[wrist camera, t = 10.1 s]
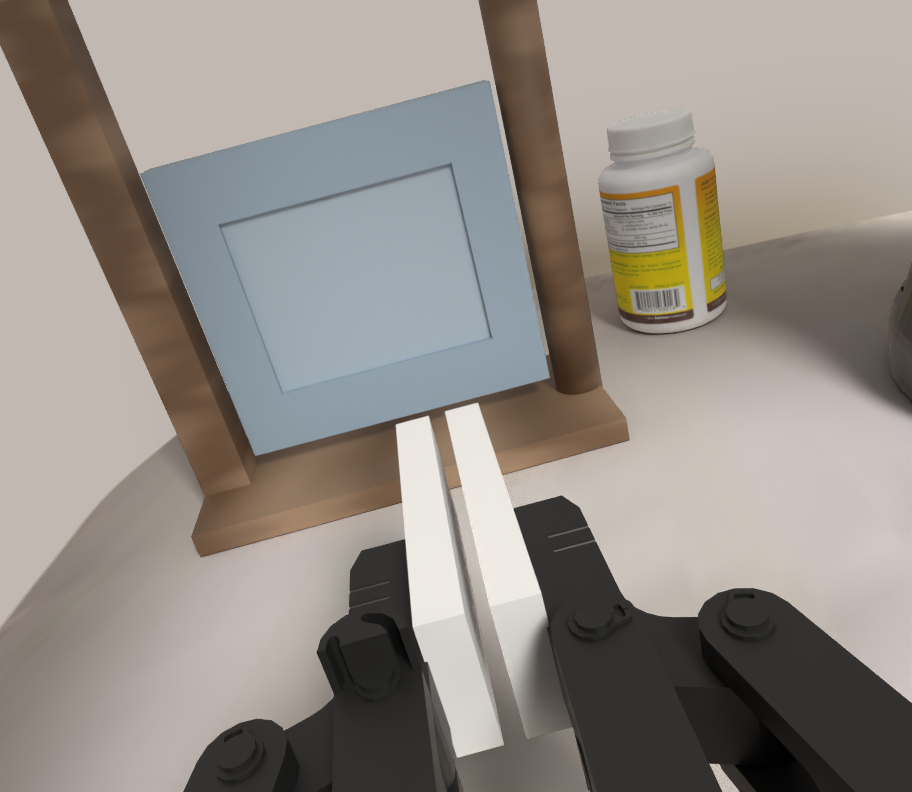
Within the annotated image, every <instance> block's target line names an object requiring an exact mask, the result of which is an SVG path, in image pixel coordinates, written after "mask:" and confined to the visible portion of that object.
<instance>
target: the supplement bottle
mask: <svg viewBox="0 0 912 792" xmlns="http://www.w3.org/2000/svg"><path fill="white" fill-rule="evenodd" d="M694 134H695V131H694V128H693V122H692V113H691V110H689V109H683V108H680V109H679V108H678V109H668V110H662V111H656V112H651V113H646V114H641V115H638V116H634V117H630V118H627V119H624V120H621V121H618V122H616V123H613V124H612V125H610V126H609V127H608V128H607V135H608V142H609V152H610V153H611V154H610V158H611V160H612V161H615V163H613V164H611V165H609V166H608V167H606V168H605V169H604V170H603V171H602V173H601V174H600V176H599V180H598V181H599V182H598V184H599V191H600V198H601V204H602V210H603V216H604V222H605V229H606V234H607V240H608V247H609V253H610V260H611V266H612V272H613V278H614V285H615V291H616V297H617V303H618V309H619V314H620V317H621V319H622V321H623V322H624V323H625V324H626V325H627V326H628V327H630V328H632V329H634V330H637V331H641V332H646V333H673V332H679V331H685V330H689V329H692V328H696V327H699V326H701V325H704V324H706V323H708V322H710V321H712V320H713V319H715V318H716V317H717V316H719V315H720V314H721V313H722V311H723V310H724V308H725V306H726V303H727V290H726V280H725V270H724V259H723V249H722V238H721V227H720V218H719V207H718V197H717V185H716V174H715V164H714V158H713V156H712V154H711V153H710V152H709V151H708V150H706V149H704V148H701V147H695V146H692V145H693V144H694V142H695V138H694Z"/></svg>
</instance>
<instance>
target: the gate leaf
mask: <svg viewBox="0 0 912 792" xmlns="http://www.w3.org/2000/svg"><path fill="white" fill-rule="evenodd" d="M140 175H141V178H142V180H143V183H144V185H145V188H146V190H147V192H148V195H149V197H150V200H151V202H152V205H153V207H154V210H155V212H156V215H157V217H158V219H159V222H160V224H161V227H162V229H163V232H164V234H165V237H166V239H167V241H168V244H169V246H170V249H171V251H172V254H173V256H174V259H175V261H176V263H177V266H178V268H179V271H180V273H181V276H182V278H183V281H184V283H185V285H186V288H187V290H188V293H189V295H190V297H191V300H192V302H193V305H194V307H195V310H196V312H197V315H198V317H199V319H200V322H201V325H202V327H203V329H204V331H205V334H206V337H207V339H208V342H209V344H210V347H211V349H212V351H213V354H214V356H215V359H216V361H217V364H218V366H219V369H220V371H221V373H222V376H223V378H224V381H225V383H226V386H227V388H228V390H229V393H230V395H231V398H232V400H233V403H234V405H235V408H236V410H237V412H238V415H239V417H240V420H241V422H242V425H243V427H244V430H245V432H246V434H247V437H248V439H249V442H250V444H251V447H252V449H253V452H254V454H255V456H257V455H261V454H265V453H269V452H272V451H276V450H280V449H284V448H287V447H291V446H295V445H299V444H303V443H306V442H310V441H314V440H318V439H321V438H325V437H329V436H333V435H337V434H340V433H344V432H348V431H352V430H355V429H359V428H363V427H367V426H371V425H374V424H378V423H382V422H386V421H389V420H393V419H397V418H401V417H405V416H408V415H412V414H416V413H420V412H423V411H427V410H431V409H435V408H439V407H442V406H446V405H450V404H454V403H457V402H461V401H465V400H469V399H473V398H476V397H480V396H484V395H488V394H491V393H495V392H499V391H503V390H507V389H510V388H514V387H518V386H522V385H525V384H529V383H533V382H537V381H541V380H544V379H548V378H550V376H549V371H548V366H547V361H546V356H545V351H544V346H543V341H542V336H541V332H540V327H539V322H538V317H537V312H536V307H535V302H534V297H533V292H532V287H531V283H530V277H529V273H528V268H527V263H526V258H525V253H524V248H523V243H522V238H521V233H520V228H519V223H518V218H517V214H516V208H515V203H514V199H513V194H512V189H511V184H510V179H509V174H508V169H507V164H506V159H505V154H504V149H503V144H502V139H501V135H500V130H499V125H498V120H497V115H496V110H495V105H494V100H493V95H492V90H491V85H490V81H484V80H483V81H480V82H476V83H472V84H468V85H465V86H461V87H457V88H453V89H449V90H446V91H442V92H438V93H434V94H431V95H427V96H423V97H419V98H415V99H412V100H408V101H404V102H401V103H397V104H393V105H389V106H385V107H382V108H378V109H374V110H371V111H367V112H363V113H359V114H356V115H351V116H348V117H344V118H340V119H336V120H332V121H329V122H325V123H322V124H317V125H314V126H310V127H306V128H303V129H299V130H295V131H291V132H288V133H283V134H280V135H276V136H273V137H268V138H265V139H261V140H257V141H254V142H250V143H246V144H242V145H238V146H234V147H231V148H227V149H224V150H219V151H216V152H212V153H208V154H204V155H201V156H197V157H193V158H190V159H185V160H182V161H178V162H174V163H170V164H167V165H163V166H159V167H155V168H152V169H149V170H147V171H145V172H143V173H141V174H140Z"/></svg>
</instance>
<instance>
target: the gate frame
mask: <svg viewBox="0 0 912 792" xmlns="http://www.w3.org/2000/svg"><path fill="white" fill-rule="evenodd" d="M479 5H480V10H481V15H482V20H483V25H484V30H485V34H486V40H487V45H488V49H489V55H490V59H491V65H492V70H493V74H494V79H495V85H496V90H497V95H498V100H499V104H500V109H501V115H502V120H503V125H504V129H505V135H506V139H507V144H508V149H509V154H510V160H511V164H512V170H513V175H514V179H515V185H516V190H517V195H518V199H519V204H520V209H521V215H522V220H523V225H524V230H525V234H526V240H527V244H528V249H529V255H530V260H531V264H532V269H533V274H534V279H535V284H536V289H537V294H538V299H539V304H540V309H541V314H542V319H543V324H544V329H545V334H546V339H547V344H548V349H549V354H550V355H546V361H547V366H548V371H549V376H550V378H548V379H544V380H541V381H537V382H533V383H529V384H525V385H522V386H518V387H514V388H510V389H507V390H503V391H499V392H495V393H491V394H488V395H484V396H480V397H476V398H473V399H469V400H465V401H461V402H457V403H454V404H450V405H446V406H442V407H439V408H435V409H431V410H427V411H423V412H420V413H416V414H412V415H408V416H405V417H401V418H397V419H393V420H389V421H386V422H382V423H378V424H374V425H371V426H367V427H363V428H359V429H355V430H352V431H348V432H344V433H340V434H337V435H333V436H329V437H325V438H321V439H318V440H314V441H310V442H306V443H303V444H299V445H295V446H291V447H287V448H284V449H280V450H276V451H272V452H269V453H265V454H261V455H257V456H255V454H254V452H253V449H252V447H251V444H250V442H249V439H248V437H246V434H245V432H244V429H243V427H242V425H241V422H240V420H239V417H238V415H237V412H236V410H235V407H234V405H233V403H232V400H231V398H230V395H229V393H228V391H227V388H226V386H225V383H224V381H223V378H222V376H221V373H220V371H219V369H218V366H217V364H216V361H215V359H214V356H213V354H212V352H211V349H210V346H209V344H208V342H207V339H206V337H205V334H204V332H203V329H202V327H201V325H200V322H199V320H198V317H197V315H196V312H195V310H194V307H193V305H192V303H191V300H190V298H189V295H188V293H187V290H186V288H185V285H184V283H183V281H182V278H181V276H180V273H179V271H178V268H177V266H176V264H175V261H174V259H173V256H172V254H171V251H170V249H169V246H168V244H167V242H166V239H165V237H164V234H163V232H162V229H161V227H160V225H159V222H158V220H157V217H156V215H155V212H154V210H153V207H152V205H151V203H150V200H149V198H148V196H147V193H146V190H145V188H144V186H143V183H142V181H141V178H140V176H139V173H138V171H137V168H136V166H135V164H134V161H133V159H132V156H131V154H130V151H129V149H128V146H127V144H126V142H125V139H124V137H123V134H122V132H121V130H120V127H119V125H118V122H117V120H116V117H115V115H114V112H113V110H112V107H111V105H110V103H109V100H108V98H107V95H106V93H105V91H104V88H103V85H102V83H101V81H100V78H99V76H98V73H97V71H96V68H95V66H94V64H93V61H92V59H91V56H90V54H89V51H88V49H87V47H86V44H85V42H84V39H83V37H82V34H81V32H80V30H79V27H78V25H77V22H76V20H75V17H74V15H73V12H72V10H71V7H70V5H69V3H68V0H0V46H1V48H2V50H3V52H4V54H5V57H6V59H7V61H8V63H9V65H10V68H11V70H12V72H13V74H14V76H15V79H16V81H17V83H18V85H19V87H20V89H21V92H22V94H23V96H24V98H25V100H26V103H27V105H28V107H29V109H30V112H31V114H32V116H33V118H34V120H35V123H36V125H37V127H38V129H39V131H40V134H41V136H42V138H43V140H44V142H45V145H46V147H47V149H48V151H49V153H50V156H51V158H52V160H53V162H54V164H55V167H56V169H57V171H58V173H59V175H60V178H61V180H62V182H63V184H64V186H65V189H66V191H67V193H68V195H69V197H70V200H71V202H72V204H73V206H74V208H75V211H76V213H77V215H78V217H79V219H80V222H81V224H82V226H83V228H84V230H85V233H86V235H87V237H88V239H89V241H90V244H91V246H92V248H93V250H94V252H95V254H96V257H97V259H98V261H99V263H100V266H101V268H102V270H103V272H104V274H105V277H106V279H107V281H108V283H109V285H110V288H111V290H112V292H113V294H114V296H115V298H116V301H117V303H118V305H119V307H120V310H121V312H122V314H123V316H124V318H125V321H126V322H127V325H128V327H129V329H130V332H131V334H132V336H133V338H134V340H135V343H136V345H137V347H138V349H139V351H140V353H141V355H142V358H143V360H144V362H145V364H146V367H147V369H148V371H149V373H150V376H151V378H152V380H153V382H154V384H155V386H156V389H157V391H158V393H159V395H160V398H161V400H162V402H163V404H164V406H165V409H166V410H167V413H168V415H169V417H170V419H171V421H172V424H173V426H174V428H175V430H176V433H177V435H178V437H179V439H180V442H181V444H182V446H183V448H184V450H185V453H186V455H187V457H188V459H189V461H190V464H191V466H192V468H193V470H194V472H195V475H196V477H197V479H198V481H199V483H200V486H201V488H202V490H203V492H204V494H205V499H204V502H203V505H202V508H201V510H200V513H199V516H198V519H197V522H196V525H195V527H194V530H193V533H192V536H191V537H192V539H193V542H194V544H195V546H196V548H197V550H198V552H199V554H200V556H201V557H202V556H206V555H210V554H213V553H217V552H221V551H224V550H228V549H232V548H235V547H239V546H243V545H246V544H250V543H254V542H257V541H261V540H265V539H268V538H272V537H276V536H279V535H283V534H287V533H290V532H294V531H298V530H301V529H305V528H309V527H312V526H316V525H320V524H323V523H327V522H331V521H334V520H338V519H342V518H345V517H349V516H352V515H356V514H360V513H363V512H367V511H371V510H374V509H378V508H382V507H385V506H389V505H393V504H396V503H400V502H402V494H401V482H400V470H399V458H398V446H397V434H396V424H399V423H403V422H407V421H411V420H414V419H418V418H422V417H426V416H429V418H430V422H431V425H432V429H433V432H434V436H435V439H436V443H437V446H438V450H439V453H440V457H441V460H442V464H443V467H444V471H445V474H446V478H447V481H448V485H449V488H450V489H451V488H455V487H459V486H462V484H461V480H460V476H459V471H458V467H457V462H456V458H455V454H454V449H453V445H452V441H451V436H450V432H449V428H448V423H447V419H446V415H445V411H448V410H452V409H456V408H460V407H463V406H467V405H471V404H475V403H478V405H479V408H480V411H481V414H482V417H483V420H484V423H485V426H486V429H487V432H488V435H489V438H490V441H491V444H492V447H493V450H494V453H495V456H496V459H497V462H498V465H499V468H500V471H501V474H502V475H503V474H506V473H510V472H513V471H517V470H521V469H524V468H528V467H532V466H535V465H539V464H543V463H546V462H550V461H554V460H557V459H561V458H565V457H568V456H572V455H576V454H579V453H583V452H587V451H590V450H594V449H598V448H601V447H605V446H609V445H612V444H616V443H620V442H623V441H627V440H629V434H628V428H627V421H626V417H625V416H624V415H623V414H622V412H621V411H620V410H619V408H618V407H617V406H616V404H615V403H614V402H613V401H612V399H611V398H610V397H609V395H608V394H607V393H606V391H605V390H604V389H603V386H602V380H601V374H600V368H599V363H598V357H597V351H596V345H595V339H594V333H593V327H592V322H591V316H590V310H589V304H588V298H587V292H586V286H585V280H584V275H583V269H582V263H581V257H580V251H579V245H578V239H577V234H576V228H575V222H574V216H573V210H572V204H571V198H570V193H569V187H568V181H567V175H566V169H565V163H564V158H563V152H562V146H561V140H560V135H559V128H558V122H557V116H556V111H555V105H554V99H553V93H552V87H551V81H550V76H549V69H548V63H547V58H546V52H545V46H544V40H543V34H542V28H541V23H540V17H539V11H538V5H537V0H479Z"/></svg>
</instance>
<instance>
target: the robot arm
mask: <svg viewBox="0 0 912 792" xmlns="http://www.w3.org/2000/svg"><path fill="white" fill-rule="evenodd" d="M889 367H890V371H891V374H892V376H893V378H894V380H895V382H896V383H897V385H898V386H899V387H900V389H901V390H902V391H903V392H904V393H905V394H906V395H907V396H908V397H909V398H910V399H911V400H912V263H911V266H910V270H909V273H908V276H907V279H906V280H905V281H904V282H903V284H902V286H901V288H900V290H899V291H898V293H897V295H896V297H895V299H894V301H893V304H892V308H891V313H890V327H889ZM445 415H446V419H447V423H448V428H449V432H450V436H451V441H452V445H453V449H454V454H455V458H456V462H457V467H458V471H459V476H460V480H461V484H462V489H463V493H464V497H465V502H466V506H467V510H468V515H469V519H470V524H471V528H472V532H473V537H474V541H475V545H476V550H477V554H478V558H479V563H480V567H481V572H482V576H483V580H484V585H485V589H486V593H487V598H488V602H489V606H490V610H491V614H492V617H493V621H494V624H495V628H496V631H497V635H498V639H499V642H500V646H501V649H502V653H503V656H504V660H505V664H506V667H507V671H508V674H509V678H510V681H511V685H512V688H513V692H514V696H515V699H516V703H517V706H518V710H519V713H520V717H521V721H522V724H523V728H524V731H525V735H526V738H527V739H529V738H533V737H537V736H540V735H544V734H548V733H552V732H555V731H559V730H563V729H567V728H570V727H573V729H574V733H575V737H576V741H577V745H578V749H579V753H580V758H581V762H582V766H583V770H584V774H585V778H586V783H587V787H588V790H590V792H722V790H721V788H720V786H719V784H718V782H717V780H716V777H715V775H714V773H713V771H712V769H711V767H710V764H720V766H721V768H722V770H723V771H724V773H725V774H726V775H727V776H728V778H729V779H730V780H731V781H732V782H733V784H734V785H735V786H736V787H737V789H738V790H739V791H740V792H912V703H911V702H909V701H908V700H907V699H906V698H905V697H903V696H902V695H901V694H900V693H898V692H897V691H896V690H895V689H894V688H892V687H891V686H890V685H889V684H887V683H886V682H885V681H884V680H883V679H881V678H880V677H879V676H878V675H876V674H875V673H874V672H873V671H872V670H870V669H869V668H868V667H867V666H865V665H864V664H863V663H862V662H861V661H859V660H858V659H857V658H856V657H854V656H853V655H852V654H851V653H850V652H848V651H847V650H846V649H845V648H843V647H842V646H841V645H840V644H839V643H837V642H836V641H835V640H834V639H832V638H831V637H830V636H829V635H828V634H826V633H825V632H824V631H823V630H821V629H820V628H819V627H818V626H817V625H815V624H814V623H813V622H812V621H810V620H809V619H808V618H807V617H806V616H804V615H803V614H802V613H801V612H799V611H798V610H797V609H796V608H795V607H793V606H792V605H791V604H790V603H788V602H787V601H785V600H784V599H782V598H780V597H778V596H777V595H775V594H773V593H770V592H766V591H762V590H758V589H754V588H734V589H731V590H727V591H724V592H720V593H717V594H716V595H714V596H713V597H712V598H710V599H709V600H707V601H706V602H705V603H704V605H703V606H702V608H701V610H700V612H699V613H698V617H663V616H657V615H653V614H649V613H646V612H644V611H641V610H639V609H637V608H635V607H634V606H633V605H632V603H631V602H630V601H628V600H626V599H625V598H624V596H623V595H622V594H621V592H620V590H619V588H618V586H617V584H616V582H615V580H614V578H613V576H612V574H611V572H610V569H609V567H608V565H607V563H606V561H605V559H604V557H603V555H602V553H601V551H600V549H599V547H598V545H597V543H596V542H595V539H594V536H593V534H592V532H591V530H590V528H589V527H588V524H587V522H586V520H585V518H584V516H583V514H582V512H581V510H580V508H579V507H578V506H576V505H575V504H573V503H572V502H571V501H569V500H568V499H566V498H565V497H563V496H558V497H554V498H551V499H547V500H543V501H539V502H536V503H532V504H528V505H524V506H521V507H517V508H513V507H512V504H511V501H510V498H509V495H508V492H507V489H506V486H505V483H504V480H503V477H502V474H501V471H500V468H499V465H498V462H497V459H496V456H495V453H494V450H493V447H492V444H491V441H490V438H489V435H488V432H487V429H486V426H485V423H484V420H483V417H482V414H481V411H480V408H479V405H478V403H475V404H471V405H467V406H463V407H460V408H456V409H452V410H448V411H445ZM396 434H397V446H398V458H399V470H400V482H401V494H402V506H403V517H404V529H405V539H404V540H400V541H397V542H393V543H389V544H385V545H382V546H378V547H374V548H370V549H366V550H363V551H361V553H360V554H359V556H358V558H357V560H356V561H355V563H354V565H353V567H352V568H351V570H350V596H349V607H350V610H349V614H348V615H346V616H344V617H343V618H341V619H340V620H339V621H337V622H336V623H335V624H333V625H332V626H331V627H330V628H329V629H328V630H327V632H326V633H325V634H324V636H323V637H322V638H321V640H320V643H319V647H318V650H317V655H318V657H319V659H320V662H321V664H322V666H323V669H324V671H325V673H326V676H327V678H328V681H329V683H330V685H331V688H332V690H333V692H334V698H333V699H332V700H331V701H330V702H329V703H328V704H326V705H325V706H324V707H323V708H322V709H321V710H319V711H318V712H316V713H315V714H313V715H312V716H310V717H309V718H307V719H305V720H303V721H301V722H300V723H298V724H296V725H294V726H292V727H291V728H289V729H287V730H285V731H284V730H283V728H282V727H281V726H279V725H278V724H276V723H275V722H273V721H272V720H263V719H254V720H250V721H246V722H242V723H239V724H237V725H235V726H233V727H232V728H230V729H228V730H226V731H224V732H223V733H221V734H220V735H219V736H218V737H217V738H216V739H215V740H214V741H213V742H212V743H211V744H209V745H208V746H207V748H206V749H205V751H204V752H203V754H202V755H201V757H200V758H199V760H198V761H197V763H196V765H195V768H194V770H193V772H192V774H191V776H190V778H189V781H188V783H187V785H186V787H185V789H184V791H183V792H463V787H462V784H461V781H460V779H459V776H458V773H457V770H456V767H455V760H454V753H453V747H454V749H455V752H456V755H457V758H458V757H462V756H466V755H469V754H473V753H477V752H481V751H484V750H488V749H492V748H496V747H499V746H503V745H504V743H503V738H502V733H501V728H500V723H499V718H498V713H497V708H496V703H495V698H494V694H493V689H492V684H491V679H490V674H489V669H488V664H487V659H486V654H485V649H484V644H483V640H482V635H481V630H480V625H479V620H478V615H477V610H476V605H475V600H474V595H473V590H472V586H471V581H470V576H469V571H468V566H467V561H466V556H465V551H464V546H463V541H462V536H461V532H460V527H459V522H458V517H457V513H456V509H455V506H454V502H453V499H452V495H451V492H450V488H449V485H448V481H447V478H446V474H445V471H444V467H443V464H442V460H441V457H440V453H439V450H438V446H437V443H436V439H435V436H434V432H433V429H432V425H431V422H430V418H429V416H426V417H422V418H418V419H414V420H411V421H407V422H403V423H399V424H396ZM452 744H453V745H452ZM709 763H710V764H709Z"/></svg>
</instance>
